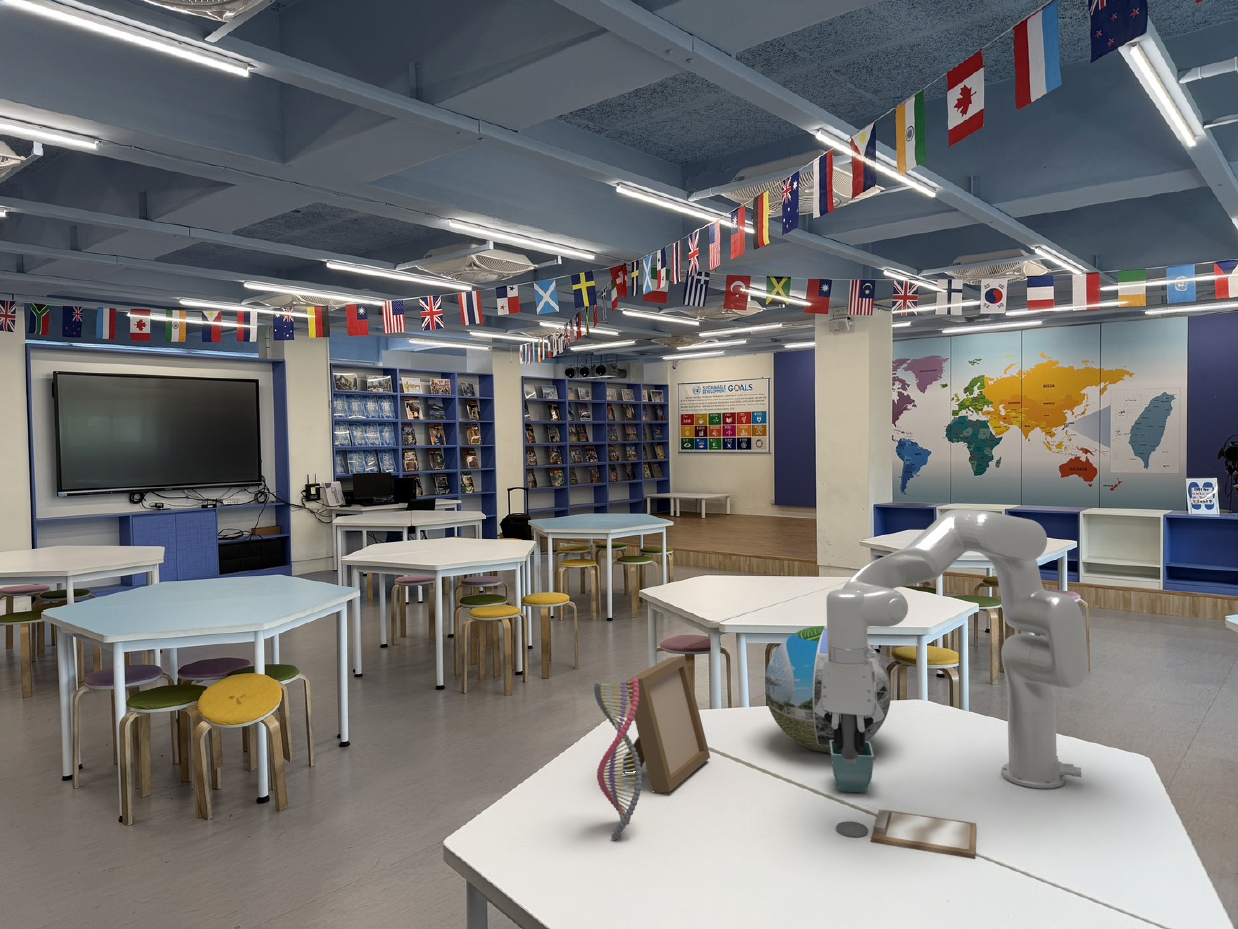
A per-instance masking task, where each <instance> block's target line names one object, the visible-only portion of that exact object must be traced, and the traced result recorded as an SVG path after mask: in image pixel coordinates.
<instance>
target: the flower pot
mask: <svg viewBox="0 0 1238 929" xmlns="http://www.w3.org/2000/svg"><path fill="white" fill-rule="evenodd" d="M830 750H831V752H830V756H831V757H830V758H831V762H832V763H831V765H832V772H833V778H834V781H835V783H836V786H837V788H838V789H839V791H840V792H842V793H843V792H845V793H846V792H848V793H866V791H867V790H868V788H869V786H870V784H871V781H872V776H873V769H874V757H875V755H874V751H873V747H872V744H871V742H870V741H867V742H866V741H865V747H862V749H861V751H860V753H859V752H858V757H857V758H856V763H855V764H846V763H844V757H842V749H841V750H837V744H834V740H830Z"/></svg>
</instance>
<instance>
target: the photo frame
mask: <svg viewBox="0 0 1238 929" xmlns="http://www.w3.org/2000/svg"><path fill="white" fill-rule="evenodd" d="M634 678H637V679H638V684H639V697H638V698H639V701H638V706H637V711H636V712H635V716H634V719H633V720H634V722H635V726H636V730H637V734H638V736H637V738H636V739H635V741H634V742H633V744H634V748H636V752H637V753H638V757H639V762H640V764H641V765H640V767H641V770H642V768H643V766H644V764H645V767H646V771H647V775H648V778H649V783H650V788H651V792H652V791H654V792H657V793H658V794H659V793H660V794H661V793H669V792H671V791H673V790H674V789H675V788H676V787H677V786H678V785H680V784H681V783H682V782H683V781H685V779H687V778H688V777H690V776H691V774H692V773H694V772H695V771H696V770H697V769H699V768H700V767H701V766H702V765H703V764H704V763H706V762H707V761H708V760H709V759H710V758H711V756H710V751H709V748H708V742H707V739H706V734H705V730H704V726H703V723H702V719H701V716H700V715H701V714H700V710H699V706H698V703H697V699H696V696H695V690H694V688H693V684H692V679H691V676H690V671H689V667H688V663H687V660H686V655H685V654H684V655H679V656H671V657H667V658H666V659H664V660H662V661H661V662H658V663H657V664H655V665H653V666H652V667H649V668H648V669H645V670H644V671H642V672H640V673H638V674H636V675H634V676H633V677H630V678H629V679H627V680H626V681H627V682H628V681H632V679H634ZM625 685H627V686H632V685H633V684H632V683H627V684H625ZM626 689H627V690H633V687H629V688H626ZM627 694H633V691H631V692H627ZM628 697H629V698H628V699H632V698H633V696H628ZM629 701H630V702H629V703H632V702H633V701H631V700H629ZM630 755H631V753H627V754H624V756H623V757H626V756H630ZM632 759H633V758H632V757H627V758H624V759H622V760H623V761H627V760H632ZM623 761H622V762H623ZM629 764H634V762H633V761H630V762H627V763H622V766H625V765H629ZM634 768H635V766H628V767H622V770H624V769H634ZM633 771H635V770H631V771H622V774H623V773H625V772H633Z"/></svg>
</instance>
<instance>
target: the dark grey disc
mask: <svg viewBox="0 0 1238 929" xmlns="http://www.w3.org/2000/svg"><path fill="white" fill-rule="evenodd" d="M835 830H836V832H837V833H838V834H840V835H842V836H844V837H848V838H857V839H858V838H862V837H863V838H864V837H865V836H867V835H868V834H869V828H868V827H867V826H866V825H865V824H863V823H862V822H858V821H852V820H851V821H849V820H848V821H847V820H846V821H841V822H839V823H837V824H836V825H835Z"/></svg>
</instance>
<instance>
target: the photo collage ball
mask: <svg viewBox="0 0 1238 929" xmlns="http://www.w3.org/2000/svg"><path fill="white" fill-rule="evenodd" d="M867 644H868V648H869V649H871V650H875V648H874V647H873V646H872V645H871V644H869V643H868V642H867ZM826 658H828V649H827V625H817V626H811V627H807V628H804V629H801V630H798V631H796V632H795V633H793V634H791V635H790V636H788V637H787V638H786V639H784V640H783V642H781V643H780V645H779V646H778V647H777V648H776V649H775V651H774V652H773V654H772V656H771V657H770V660H769V662H768V665H767V668H766V672H765V677H764V693H765V699H766V703H767V705H768V709H769V712H770V713H771V716H772V717H773V719H774V721H775V722H776V724H777V725H778V727H779V728H780V729H781V730H782V731H783V732H784V734H785V735H787V736H788V737H789V739H791V740H793V741H794V742H796V743H797V744H799V745H801V746H803V747H805V748H807V749H810V750H813V751H817V752H820V753H831V750H830V740H834V729H833V728H832V726H831V724H830V723H829V722H828V721H827V720H826V719H825V718H824V717H822V716H820V715H819V714H817V713H816V712H815V711H814V709H815V707H816V706H817V704H818V702H819V700H820V698H821V685H822V673H823V666H824V661H825V659H826ZM868 660H869V661H872V664H873V668H874V673H875V681H876V693H877V702H878V704H879V706H880V708H881V710H882V712H883V713H884V718H883V719H882V720H880V721H877V722H874V723H872V724H871V725H870V726H869V727H868V728H867V729H866V730H865V741H866V742H869V740H871V739H872V738H873V737H874V736H875V735H876V733H877V732H878V731H879V730H880V729H881V727H882V726H883V724H884V723H885V721H886V718H887V715H888V713H889V709H890V706H891V705H890V704H891V699H892V698H891V697H892V691H891V689H892V688H891V682H890V677H889V673H888V670H887V667H886V665H885V663H884V661H883V660H882V658H881V656H880V654H878V652H877V651H876V657H875V658H874V657H871V658H869V659H868ZM874 714H875V713H874ZM867 717H868V716H866V718H867ZM840 723H841V718H840ZM857 727H858V722H857Z"/></svg>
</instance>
